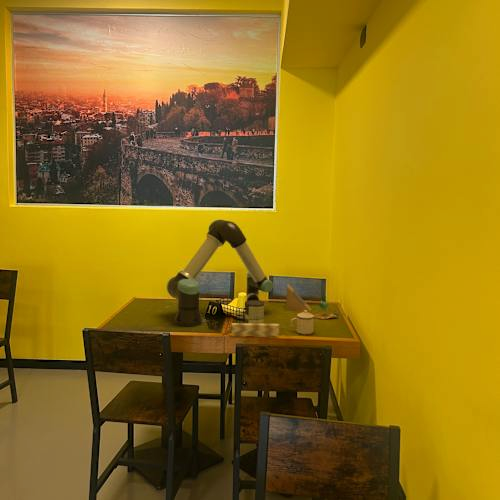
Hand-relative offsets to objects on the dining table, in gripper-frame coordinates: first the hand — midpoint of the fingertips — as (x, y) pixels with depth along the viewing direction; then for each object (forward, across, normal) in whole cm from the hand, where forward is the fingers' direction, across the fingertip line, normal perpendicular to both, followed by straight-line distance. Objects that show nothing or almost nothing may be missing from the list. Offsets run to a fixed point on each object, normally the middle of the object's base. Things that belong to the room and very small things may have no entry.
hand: (254, 310), depth 260 cm
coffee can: (+9, 0, -7) cm, 12 cm away
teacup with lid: (+15, -25, -7) cm, 30 cm away
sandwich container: (-32, -29, -7) cm, 44 cm away
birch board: (+23, 0, -7) cm, 24 cm away
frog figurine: (-13, -42, -7) cm, 45 cm away
